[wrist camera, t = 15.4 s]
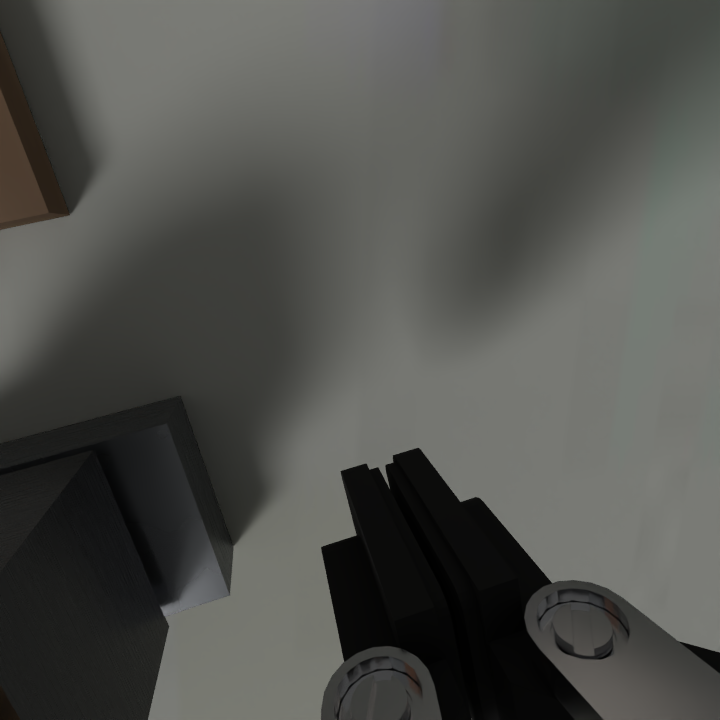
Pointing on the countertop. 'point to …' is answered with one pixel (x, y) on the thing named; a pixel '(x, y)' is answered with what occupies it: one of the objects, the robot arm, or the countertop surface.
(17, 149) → the tray
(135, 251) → the countertop surface
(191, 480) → the rail
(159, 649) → the handle
